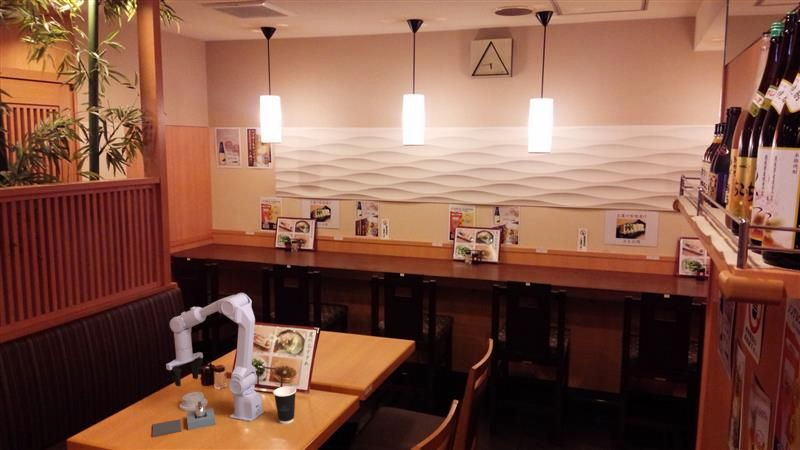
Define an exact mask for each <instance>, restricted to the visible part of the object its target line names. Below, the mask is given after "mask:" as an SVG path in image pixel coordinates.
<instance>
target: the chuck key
mask: <svg viewBox="0 0 800 450" xmlns="http://www.w3.org/2000/svg"><path fill="white" fill-rule="evenodd" d="M195 408H196V410H195V411H196V419H197V418H202V417H205V409H206V406H205V407H204V404H201V402H200V401H199V402H198V405H196V406H195Z"/></svg>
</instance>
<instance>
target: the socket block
mask: <svg viewBox="0 0 800 450" xmlns="http://www.w3.org/2000/svg"><path fill="white" fill-rule="evenodd" d="M214 411H215V410H214V407H211V408H205V417H202V418H197V419H196V410H195V411H187V412H186V420H187V421H186V422H187V429H188V431H190V430H196V429H201V428H205V427H210V426H215V425H216V416H215V413H214Z"/></svg>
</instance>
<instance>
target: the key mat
mask: <svg viewBox="0 0 800 450" xmlns="http://www.w3.org/2000/svg"><path fill="white" fill-rule="evenodd" d="M181 423H182V422H181V419H180V418H179V419H173V420H167V421H164V422H157V423H153V424H152V438H155V437H160V436H164V435H171V434H175V433H180V432H182V426H181V425H182V424H181Z"/></svg>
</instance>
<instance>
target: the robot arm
mask: <svg viewBox="0 0 800 450" xmlns="http://www.w3.org/2000/svg"><path fill="white" fill-rule="evenodd" d="M252 301H253V300H252V299H251V298H250V297H249V296H248V295H247V294H246V293H244V292H239V293H237V294H232V295H229V296H226V297H223V298H221V299H218V300H216V301H214V302H212V303H210V304H209V305H207V306H204V307H200V306H193V307H190V310H188V311H183V312H181V313H180V314H181V315H178V316H174V317H172V318H171V319H170V321H169V328H170V330H171V331H172V332H173V338H174V347H175V359H173V360H172V361H170V362H168V363H166V364H165V367H166V370H167V371H168V373H169V374H170V376H171V377H172V380H173V382H174V385H175V386H176V387H181V385H182V384H181V383H182V381H181V374H182V373H181V372H182V368H179V367H181V366H183V365H185V364H187V363H189V365H190V369H191V377H192V379H194V380H198V379H199V374H200V371H201V370H200V369H201V367H202V364H203V362H204V361H203V357H204V355H203V352H200V351H198V352H196V353H193V346H192V345H193V344H192V327H194V326H196V325H199V324H201V323H203V322H204V321H206V318H207V316H210V315H212V314H214V313H216V312H218V313H220V314H223V315H224V316H226V317H227V318H228V319H230V320H231V321H233V322H234V323H236V324H237V325H238V332H237V345H236V347H237V348H236V359H235V361H236V362H235V367H234V369H233V371H232V372H231V375H230V377H231V378H229V379H230V380H229V381H228V390H230V392H231V393H232V395H233V403H234V404H233V405H234V413H232V414H230V415H229V418H231V419H237V420H241V421H247V422H253V421H254V420H255V419H256V418H258V417H259V416H261V415H262V414H263V413H265V411H264V410H263V409H264V408H263V397H262V395H261V393H259V392H257V391H256V390H255V387H256V386H255V385H256V383H257V382H258V375H257V373H256V367H255V366H254V365H252V364H253V353H254V339H255V326H256V325H255V324H256V318H255V317H256V316H255V314H254V311H253V308H252V303H253V302H252Z"/></svg>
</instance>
